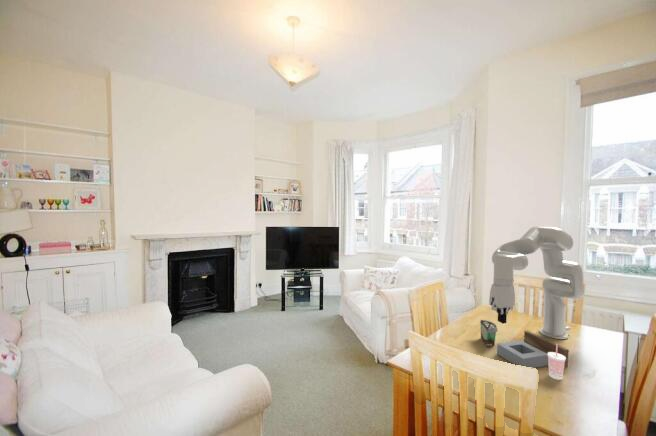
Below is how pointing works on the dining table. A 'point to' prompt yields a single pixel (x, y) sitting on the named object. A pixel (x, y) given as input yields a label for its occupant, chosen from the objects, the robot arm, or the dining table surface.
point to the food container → (488, 333)
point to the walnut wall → (545, 345)
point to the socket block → (522, 354)
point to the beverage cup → (556, 364)
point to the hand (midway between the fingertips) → (501, 322)
